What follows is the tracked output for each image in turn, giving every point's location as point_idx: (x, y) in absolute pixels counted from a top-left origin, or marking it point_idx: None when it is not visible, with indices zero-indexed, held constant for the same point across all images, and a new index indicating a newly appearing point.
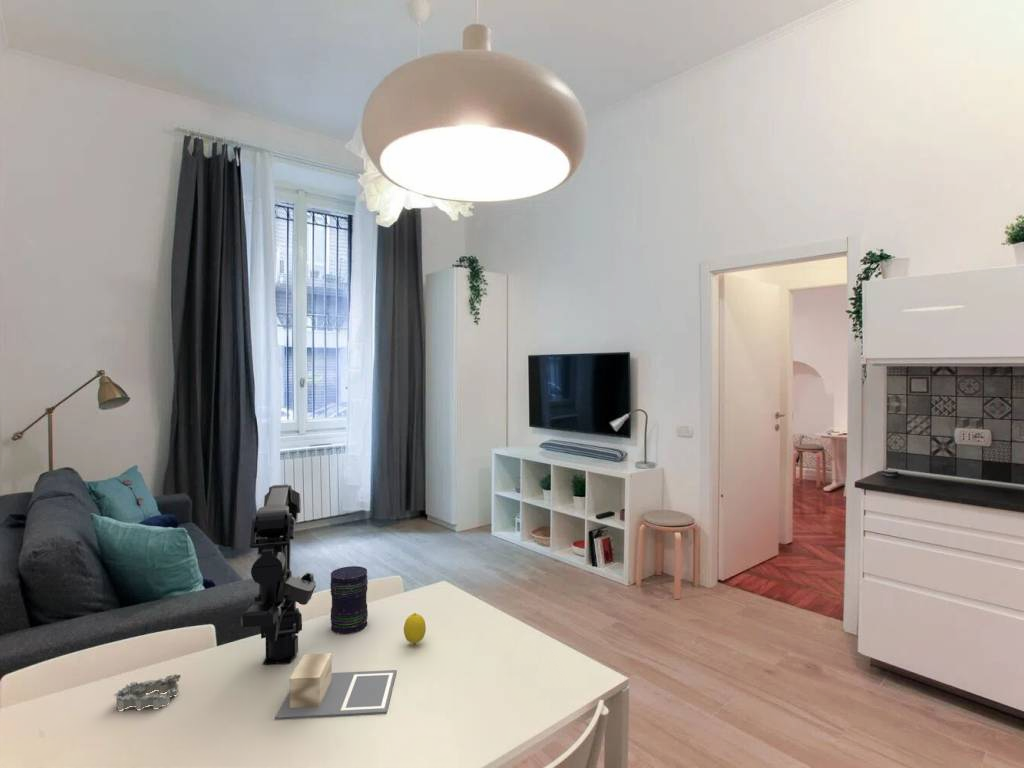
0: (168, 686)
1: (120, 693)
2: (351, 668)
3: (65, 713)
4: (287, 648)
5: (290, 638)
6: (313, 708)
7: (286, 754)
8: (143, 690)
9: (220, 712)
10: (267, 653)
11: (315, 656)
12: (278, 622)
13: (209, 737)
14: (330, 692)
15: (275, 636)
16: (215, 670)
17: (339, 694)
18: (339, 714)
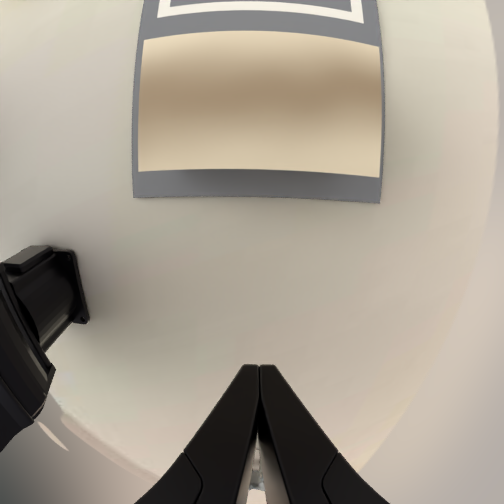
0: None
1: (251, 485)
2: (109, 46)
3: (262, 492)
4: (43, 277)
5: (21, 281)
6: None
7: (488, 147)
8: None
9: (310, 350)
10: (65, 324)
11: (165, 103)
12: (295, 496)
13: (402, 330)
14: None
15: (293, 391)
16: (130, 402)
17: (277, 28)
18: (379, 27)
